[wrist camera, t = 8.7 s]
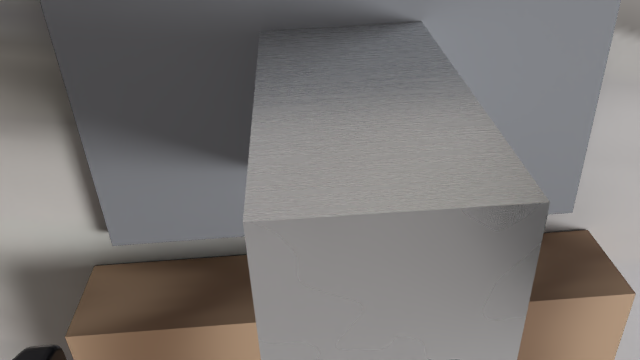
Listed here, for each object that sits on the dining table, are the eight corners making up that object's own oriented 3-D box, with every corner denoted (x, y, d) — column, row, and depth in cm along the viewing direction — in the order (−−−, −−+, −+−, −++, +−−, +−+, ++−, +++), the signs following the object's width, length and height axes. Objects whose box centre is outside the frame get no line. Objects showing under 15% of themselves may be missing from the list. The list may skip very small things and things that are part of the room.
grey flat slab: (629, -99, 14) (642, -96, 13) (564, 201, 18) (572, 212, 18) (31, -65, 13) (21, -60, 13) (117, 233, 18) (112, 246, 17)
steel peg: (421, 21, 14) (550, 203, 8) (413, 161, 16) (508, 400, 10) (260, 30, 14) (242, 222, 7) (272, 170, 16) (269, 418, 10)
